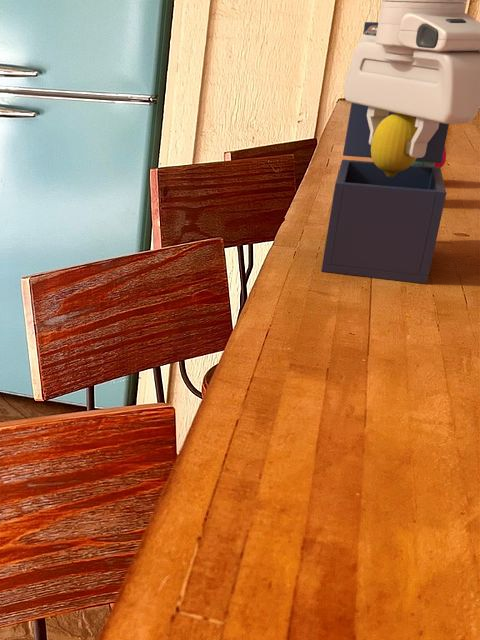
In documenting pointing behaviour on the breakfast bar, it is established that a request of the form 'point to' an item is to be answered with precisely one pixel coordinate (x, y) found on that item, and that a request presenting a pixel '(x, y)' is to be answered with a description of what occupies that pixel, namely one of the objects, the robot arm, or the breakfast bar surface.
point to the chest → (384, 222)
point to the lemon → (393, 143)
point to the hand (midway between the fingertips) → (395, 151)
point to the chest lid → (361, 132)
